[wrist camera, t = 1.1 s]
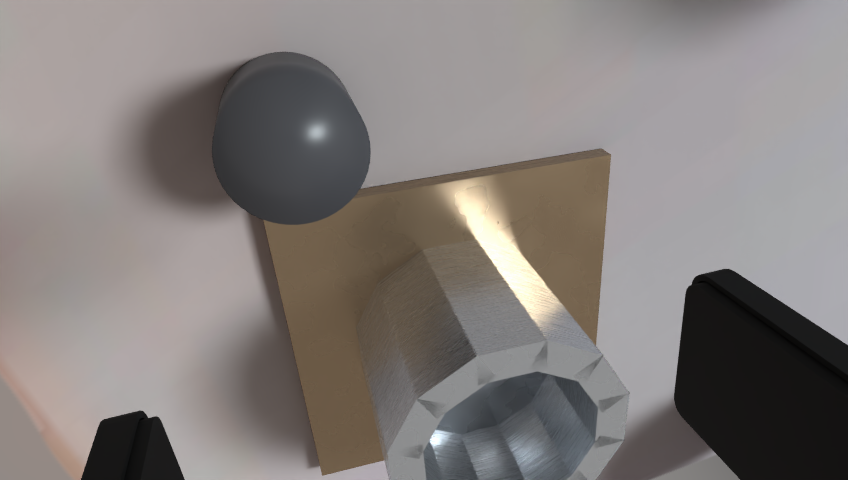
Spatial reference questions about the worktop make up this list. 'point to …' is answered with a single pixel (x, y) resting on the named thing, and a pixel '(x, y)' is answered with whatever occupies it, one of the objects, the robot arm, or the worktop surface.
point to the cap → (289, 140)
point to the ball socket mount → (458, 324)
